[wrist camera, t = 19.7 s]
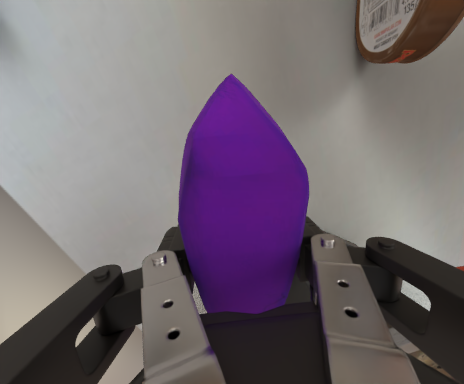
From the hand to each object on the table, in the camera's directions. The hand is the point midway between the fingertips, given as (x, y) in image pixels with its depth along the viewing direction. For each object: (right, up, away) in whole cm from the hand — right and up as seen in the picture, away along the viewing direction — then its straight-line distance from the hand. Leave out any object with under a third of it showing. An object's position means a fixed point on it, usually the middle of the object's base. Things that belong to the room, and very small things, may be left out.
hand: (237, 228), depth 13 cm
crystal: (0, -8, +1) cm, 8 cm away
